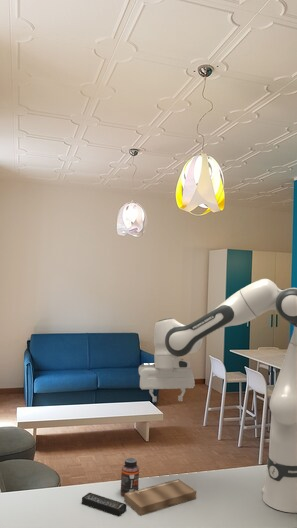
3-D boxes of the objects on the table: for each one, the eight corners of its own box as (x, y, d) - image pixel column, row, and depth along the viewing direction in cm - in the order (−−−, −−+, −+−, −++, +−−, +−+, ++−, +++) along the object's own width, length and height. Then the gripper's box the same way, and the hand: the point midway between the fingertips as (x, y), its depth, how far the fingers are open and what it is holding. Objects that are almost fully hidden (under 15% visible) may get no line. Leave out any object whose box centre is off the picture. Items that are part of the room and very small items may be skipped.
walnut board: (178, 486, 159) (178, 478, 159) (196, 498, 151) (196, 490, 151) (124, 501, 147) (124, 493, 148) (140, 515, 139) (140, 507, 139)
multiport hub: (89, 499, 149) (89, 492, 149) (126, 511, 142) (127, 504, 142) (81, 504, 145) (81, 497, 145) (119, 518, 138) (119, 510, 138)
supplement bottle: (135, 499, 149) (137, 464, 149) (118, 496, 150) (119, 462, 151) (139, 490, 155) (141, 457, 155) (123, 488, 156) (124, 455, 156)
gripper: (138, 364, 164) (138, 403, 162) (194, 362, 164) (195, 402, 162) (138, 362, 170) (139, 400, 168) (192, 361, 170) (194, 399, 168)
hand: (167, 401), depth 165 cm, fingers open, 8 cm apart
